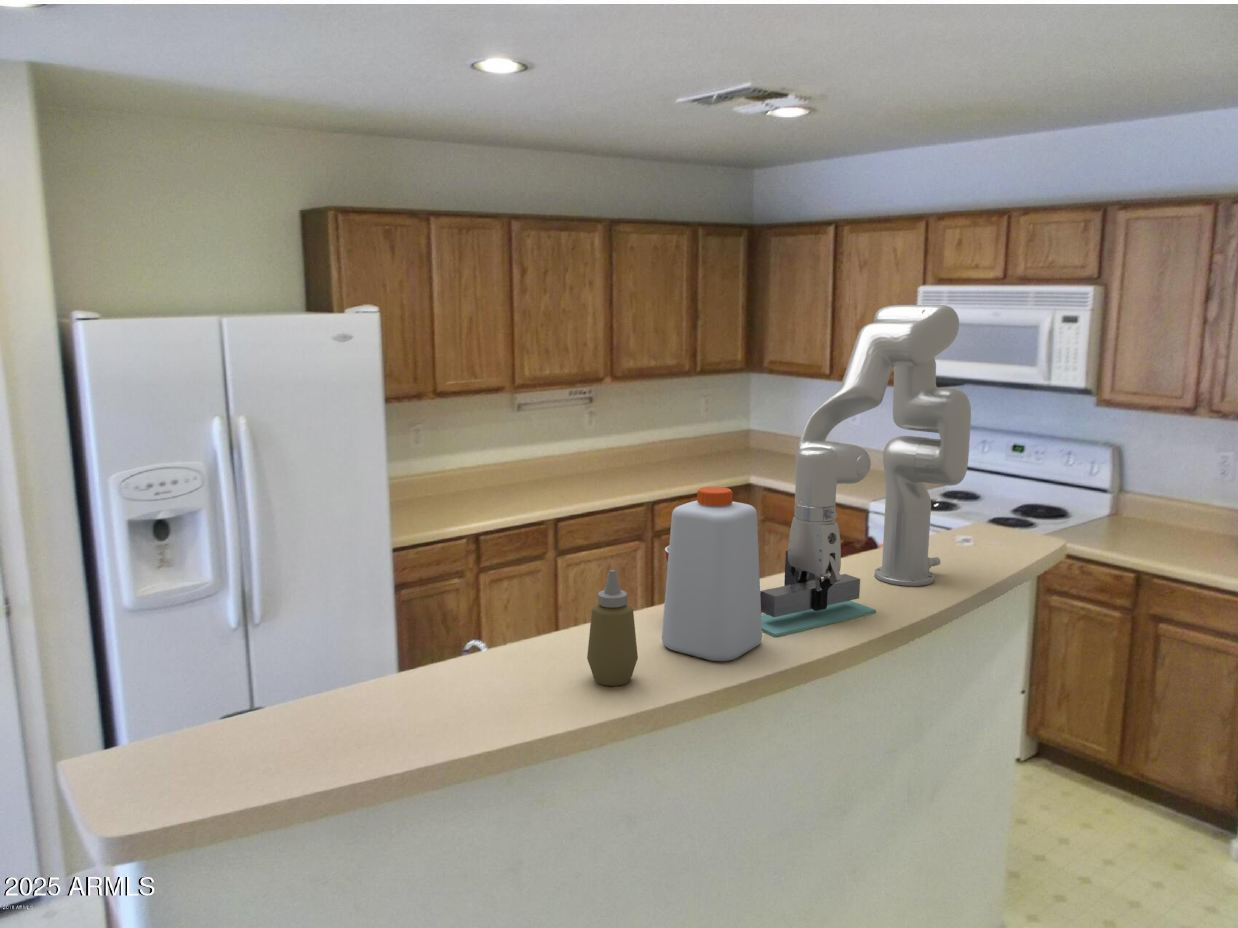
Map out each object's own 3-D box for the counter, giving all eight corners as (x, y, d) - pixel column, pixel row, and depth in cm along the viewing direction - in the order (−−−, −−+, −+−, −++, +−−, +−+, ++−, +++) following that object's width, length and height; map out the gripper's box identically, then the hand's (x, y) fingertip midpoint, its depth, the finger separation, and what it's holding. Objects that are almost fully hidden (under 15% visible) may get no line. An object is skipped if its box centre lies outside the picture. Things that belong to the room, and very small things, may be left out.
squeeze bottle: (579, 674, 146) (579, 567, 143) (625, 666, 149) (625, 561, 146) (598, 693, 138) (598, 580, 135) (646, 685, 142) (646, 574, 139)
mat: (842, 600, 184) (842, 597, 184) (875, 612, 176) (875, 609, 176) (742, 622, 170) (743, 619, 170) (774, 637, 163) (775, 634, 163)
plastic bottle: (727, 668, 148) (731, 502, 144) (652, 647, 157) (653, 490, 153) (770, 641, 160) (775, 487, 156) (698, 624, 169) (700, 478, 165)
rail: (844, 593, 180) (845, 573, 179) (859, 598, 177) (860, 578, 176) (759, 611, 169) (760, 590, 168) (774, 617, 165) (774, 596, 165)
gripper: (862, 519, 165) (857, 615, 168) (798, 503, 179) (795, 591, 182) (832, 524, 161) (828, 622, 164) (769, 507, 175) (767, 597, 178)
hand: (810, 605), depth 173 cm, fingers closed on rail, 4 cm apart
